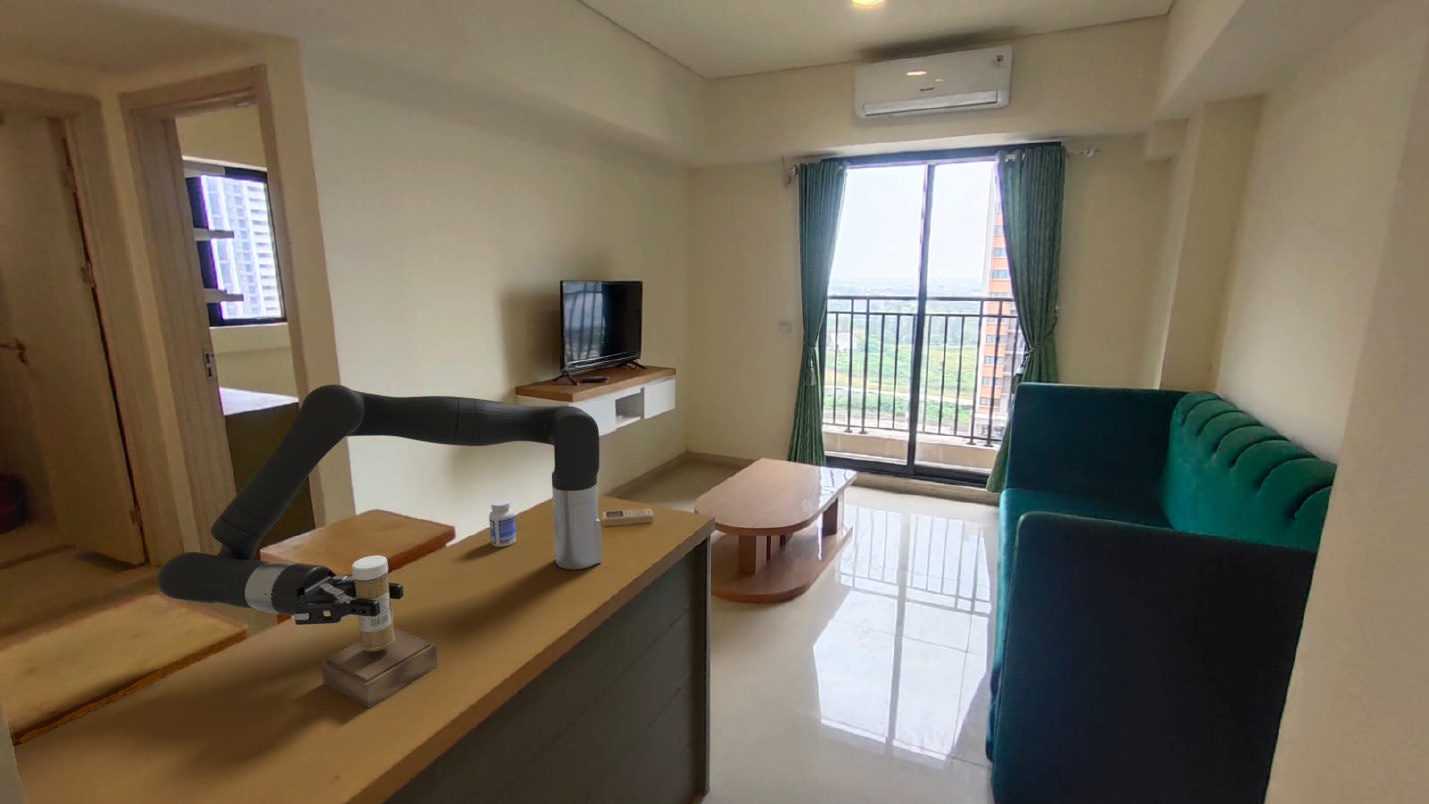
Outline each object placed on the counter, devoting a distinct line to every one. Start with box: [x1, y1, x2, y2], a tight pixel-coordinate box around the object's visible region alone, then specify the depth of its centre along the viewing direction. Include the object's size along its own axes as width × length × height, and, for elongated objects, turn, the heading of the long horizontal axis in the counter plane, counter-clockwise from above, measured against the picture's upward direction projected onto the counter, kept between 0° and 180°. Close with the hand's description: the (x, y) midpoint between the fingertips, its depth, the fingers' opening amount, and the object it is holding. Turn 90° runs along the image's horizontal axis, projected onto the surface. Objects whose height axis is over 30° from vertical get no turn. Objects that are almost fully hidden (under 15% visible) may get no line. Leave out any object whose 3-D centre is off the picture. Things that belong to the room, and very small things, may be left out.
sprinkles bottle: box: [351, 555, 395, 651], centre depth 91 cm, size 5×5×13 cm
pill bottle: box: [488, 499, 517, 548], centre depth 140 cm, size 5×5×10 cm
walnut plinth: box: [320, 626, 438, 709], centre depth 93 cm, size 11×11×4 cm
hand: (389, 600), depth 90 cm, fingers closed on sprinkles bottle, 4 cm apart
